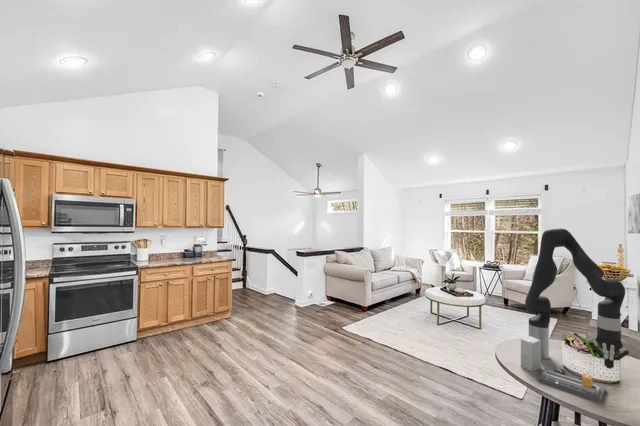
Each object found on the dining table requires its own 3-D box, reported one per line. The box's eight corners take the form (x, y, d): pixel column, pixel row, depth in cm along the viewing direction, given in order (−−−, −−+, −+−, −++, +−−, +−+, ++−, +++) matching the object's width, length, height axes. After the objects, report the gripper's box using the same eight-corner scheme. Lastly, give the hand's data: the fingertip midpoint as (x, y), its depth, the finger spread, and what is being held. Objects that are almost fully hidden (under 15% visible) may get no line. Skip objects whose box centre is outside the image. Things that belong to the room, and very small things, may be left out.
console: (545, 371, 154) (545, 363, 154) (605, 390, 137) (605, 382, 137) (538, 381, 144) (538, 373, 144) (600, 403, 128) (600, 394, 128)
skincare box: (529, 363, 162) (529, 335, 162) (541, 368, 156) (542, 339, 156) (519, 366, 158) (520, 338, 158) (532, 372, 153) (532, 342, 153)
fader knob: (583, 385, 138) (583, 372, 138) (592, 388, 135) (592, 375, 135) (581, 388, 135) (582, 376, 135) (590, 391, 132) (591, 379, 132)
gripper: (631, 329, 127) (631, 370, 127) (589, 321, 137) (589, 359, 137) (630, 333, 122) (630, 377, 122) (586, 324, 132) (587, 364, 132)
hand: (608, 367), depth 130 cm, fingers closed
